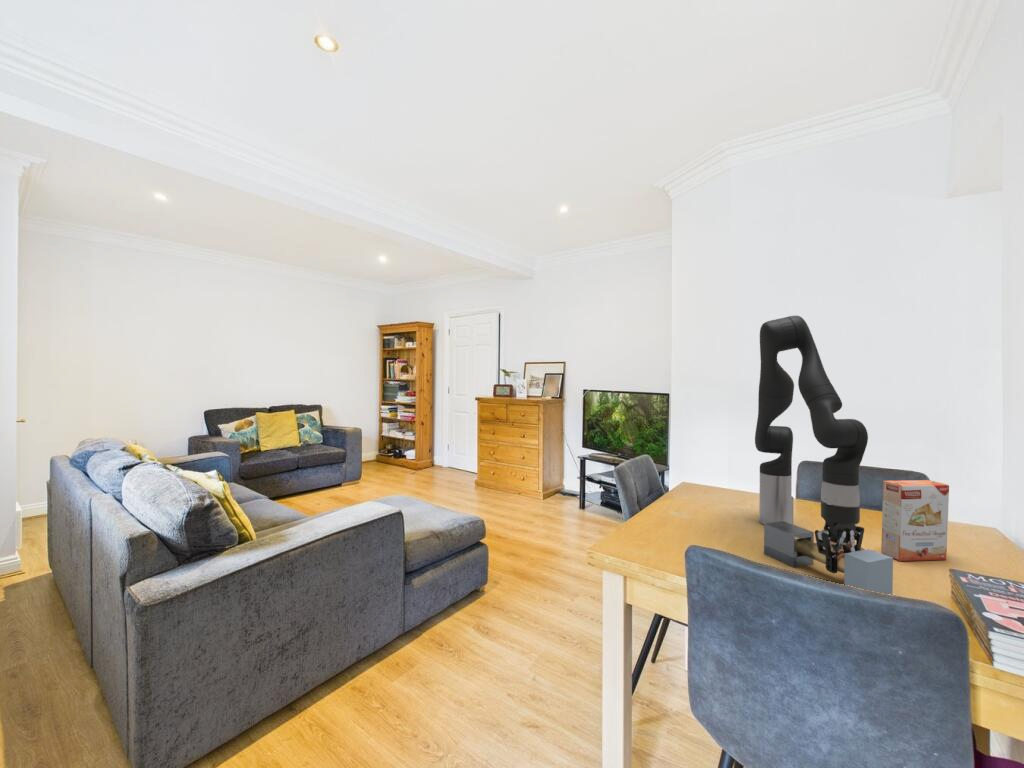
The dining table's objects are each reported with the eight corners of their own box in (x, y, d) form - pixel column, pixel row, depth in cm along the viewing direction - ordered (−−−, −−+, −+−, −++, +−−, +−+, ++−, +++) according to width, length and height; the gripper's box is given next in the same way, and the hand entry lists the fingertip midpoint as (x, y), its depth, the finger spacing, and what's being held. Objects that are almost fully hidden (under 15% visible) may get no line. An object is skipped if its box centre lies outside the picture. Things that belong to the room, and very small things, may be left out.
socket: (868, 586, 102) (868, 549, 101) (892, 596, 97) (893, 557, 97) (844, 591, 99) (844, 553, 99) (867, 602, 94) (868, 562, 94)
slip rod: (799, 550, 116) (799, 533, 116) (877, 582, 98) (878, 562, 98) (787, 552, 115) (787, 535, 115) (864, 585, 97) (864, 565, 97)
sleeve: (782, 550, 122) (783, 521, 122) (813, 563, 114) (813, 531, 114) (764, 553, 120) (764, 523, 120) (793, 567, 112) (794, 535, 112)
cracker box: (901, 562, 114) (902, 485, 114) (880, 553, 120) (881, 479, 120) (949, 560, 115) (950, 484, 115) (926, 551, 121) (927, 478, 121)
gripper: (844, 494, 110) (844, 560, 110) (803, 499, 105) (802, 567, 105) (877, 502, 102) (876, 572, 103) (834, 508, 98) (833, 581, 98)
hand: (839, 569), depth 104 cm, fingers closed on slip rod, 4 cm apart
